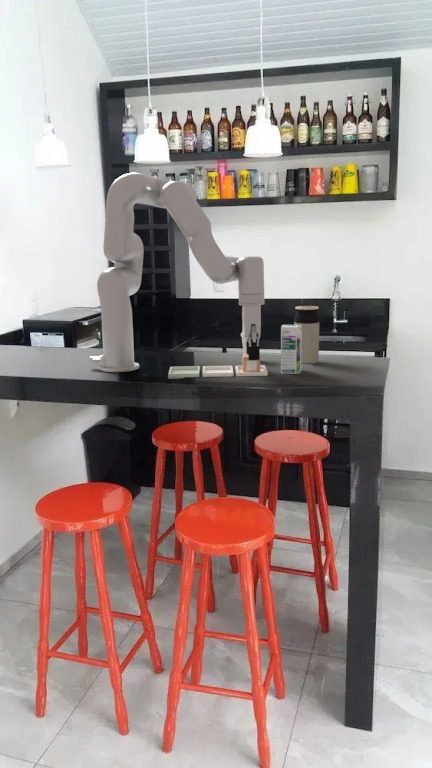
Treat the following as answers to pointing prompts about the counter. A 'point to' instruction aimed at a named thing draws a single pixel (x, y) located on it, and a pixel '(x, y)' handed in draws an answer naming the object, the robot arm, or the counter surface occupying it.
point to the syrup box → (291, 349)
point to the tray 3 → (262, 372)
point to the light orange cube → (250, 364)
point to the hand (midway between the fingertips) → (253, 357)
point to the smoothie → (244, 343)
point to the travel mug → (308, 332)
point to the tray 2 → (217, 371)
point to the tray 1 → (183, 372)
